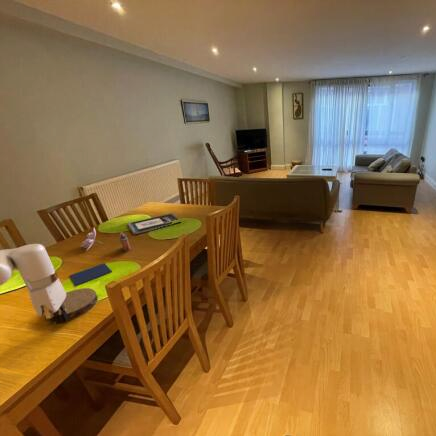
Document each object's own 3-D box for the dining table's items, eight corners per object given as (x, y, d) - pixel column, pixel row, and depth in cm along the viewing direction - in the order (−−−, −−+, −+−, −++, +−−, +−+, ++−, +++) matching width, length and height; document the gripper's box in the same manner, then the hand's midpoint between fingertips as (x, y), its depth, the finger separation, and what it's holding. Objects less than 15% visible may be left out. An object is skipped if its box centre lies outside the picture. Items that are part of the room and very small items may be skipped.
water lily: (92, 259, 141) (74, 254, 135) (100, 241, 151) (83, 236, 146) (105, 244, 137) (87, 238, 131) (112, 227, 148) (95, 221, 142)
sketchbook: (181, 223, 174) (181, 220, 173) (134, 235, 155) (133, 232, 154) (171, 214, 188) (171, 212, 188) (127, 225, 170) (126, 222, 169)
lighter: (121, 247, 140) (116, 232, 136) (128, 245, 142) (123, 230, 138) (125, 252, 135) (120, 236, 131) (132, 250, 137) (127, 234, 133)
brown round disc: (107, 294, 102) (105, 289, 101) (72, 324, 87) (69, 317, 86) (73, 292, 103) (70, 287, 102) (33, 321, 89) (30, 315, 88)
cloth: (75, 286, 108) (75, 285, 107) (69, 276, 115) (69, 275, 114) (112, 271, 118) (111, 271, 117) (104, 263, 125) (104, 262, 124)
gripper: (38, 270, 85) (58, 310, 92) (13, 296, 72) (39, 341, 79) (65, 265, 87) (82, 304, 95) (46, 290, 75) (67, 333, 82)
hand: (62, 321), depth 87 cm, fingers closed
